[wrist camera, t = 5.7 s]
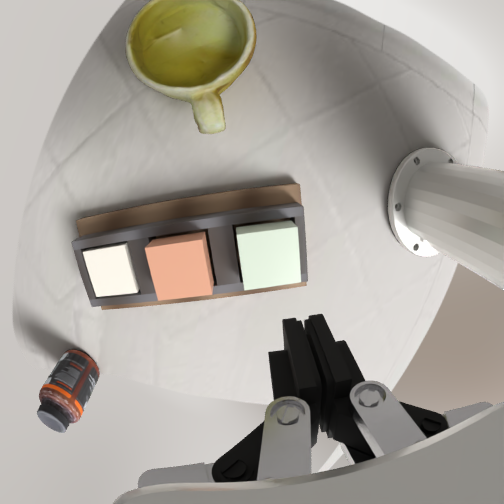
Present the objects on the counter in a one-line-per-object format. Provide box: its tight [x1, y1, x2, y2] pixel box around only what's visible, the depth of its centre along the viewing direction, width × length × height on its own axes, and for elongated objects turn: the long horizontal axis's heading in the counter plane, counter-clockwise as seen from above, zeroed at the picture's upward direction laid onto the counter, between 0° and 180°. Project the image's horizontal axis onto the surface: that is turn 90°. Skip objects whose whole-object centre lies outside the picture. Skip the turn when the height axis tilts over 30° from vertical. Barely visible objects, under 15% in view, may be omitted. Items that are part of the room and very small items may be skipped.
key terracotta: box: [145, 232, 214, 301], centre depth 22 cm, size 5×5×2 cm
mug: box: [126, 0, 256, 134], centre depth 18 cm, size 12×10×10 cm
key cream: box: [83, 241, 140, 297], centre depth 24 cm, size 5×5×2 cm
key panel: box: [72, 183, 308, 310], centre depth 25 cm, size 22×10×4 cm, turn 97°
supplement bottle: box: [37, 350, 99, 433], centre depth 25 cm, size 6×6×11 cm
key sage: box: [236, 220, 301, 290], centre depth 23 cm, size 5×5×2 cm
